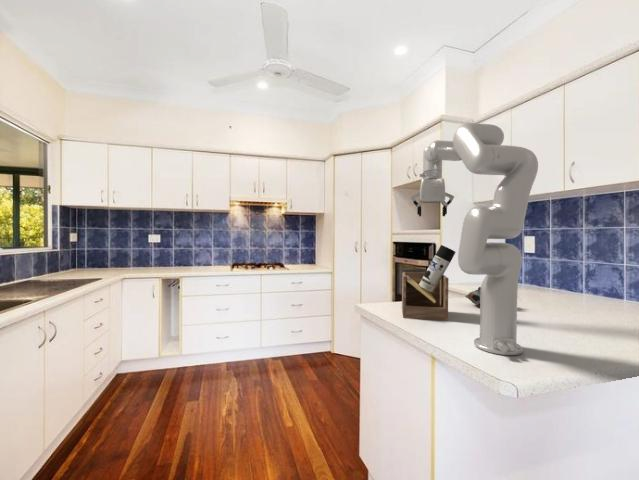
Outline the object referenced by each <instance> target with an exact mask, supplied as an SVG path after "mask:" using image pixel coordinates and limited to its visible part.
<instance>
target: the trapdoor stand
mask: <svg viewBox="0 0 639 480" xmlns="http://www.w3.org/2000/svg"><path fill="white" fill-rule="evenodd" d="M425 273H426V272H415V271H413V272H412V271H411V272H410V271H402V276H401V278H402V279H401V280H402V283H401V312H402V318H403V319H413V320H414V319H415V320H416V319H417V320H428V321H429V320H430V321H440V322H441V321H442V322H443V321H444V322H445V321H446V322H448V321H449V277H447V276H446V275H445V274H443V276H442V278H441V280H440V281H439V283H438V285H437V287H436V288H435V290H434V292H433V293H430V292H429V293H430V294H431V295H432V296H433V298H434V299H435V300H436V302H435V303H434V302H432V301H431V300H430V299H429V298H427V297H426V296H425V295H424V294H422V293H421V292H420V291H419V290H417V289H416V288H415V287H414V286H412V285H411V284H410V283H409V282H408V281H407V280H406V275H408V276H410V278H411V279H412V280H414V281H415V282H416V283H417V284H419V283H420V282H421V280H422V278H423V276H424V274H425ZM427 292H428V291H427Z"/></svg>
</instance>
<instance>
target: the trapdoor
mask: <svg viewBox="0 0 639 480" xmlns="http://www.w3.org/2000/svg"><path fill="white" fill-rule="evenodd" d="M406 280H407V281H408V282H409V283H410V284H411V285H412V286H414V287H415V288H416V289H417V290H419V291H420V292H421V293H422V294H424V295H425V296H426V297H427V298H429V299H430V300H431V301H432V302H434V303H435V302H436V300H435V299H434V298H433V296H432V295H431V294H430V293H429V292H427V291H426V290H424V289H423V288H421V287H420V286H419V284H417V283H416V282H415V281H414V280H412V279H411V278H410V276H408V275H406Z"/></svg>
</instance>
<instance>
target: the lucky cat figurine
mask: <svg viewBox="0 0 639 480" xmlns="http://www.w3.org/2000/svg"><path fill="white" fill-rule="evenodd" d="M480 293H481V286H479V287H478V288H477V289H475V290H472V291H470V292H469V293H468V294H467V295H465V296H464V297H465V298H467V299H468V300H469V301H470V302H471V303H473V305H476V306H477V307H480Z"/></svg>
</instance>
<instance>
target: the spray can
mask: <svg viewBox="0 0 639 480" xmlns="http://www.w3.org/2000/svg"><path fill="white" fill-rule="evenodd" d="M456 253H457V251H455V250H454V249H451V248H450V247H447V246H445V245H443V244H442V245H440V246H439V248H438V249H437V251H436V253H435V255H434V256H433V258H432V260H431V262H430V264H429V266H428V267H427V269H426V271H425V272H424V273H425V274H424V276H423V278H422V280H421V282H420V283H419V286H420V287H421V288H423V289H424V290H426V291H428V292H430V293H433V292H434V290H435V288H436V287H437V285H438V283H439V281H440V280H441V278H442V276H443V275H445V272H446V271H447V270H448V267H449V265H450V263H452V260H453V258H454V256H455V255H456Z"/></svg>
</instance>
